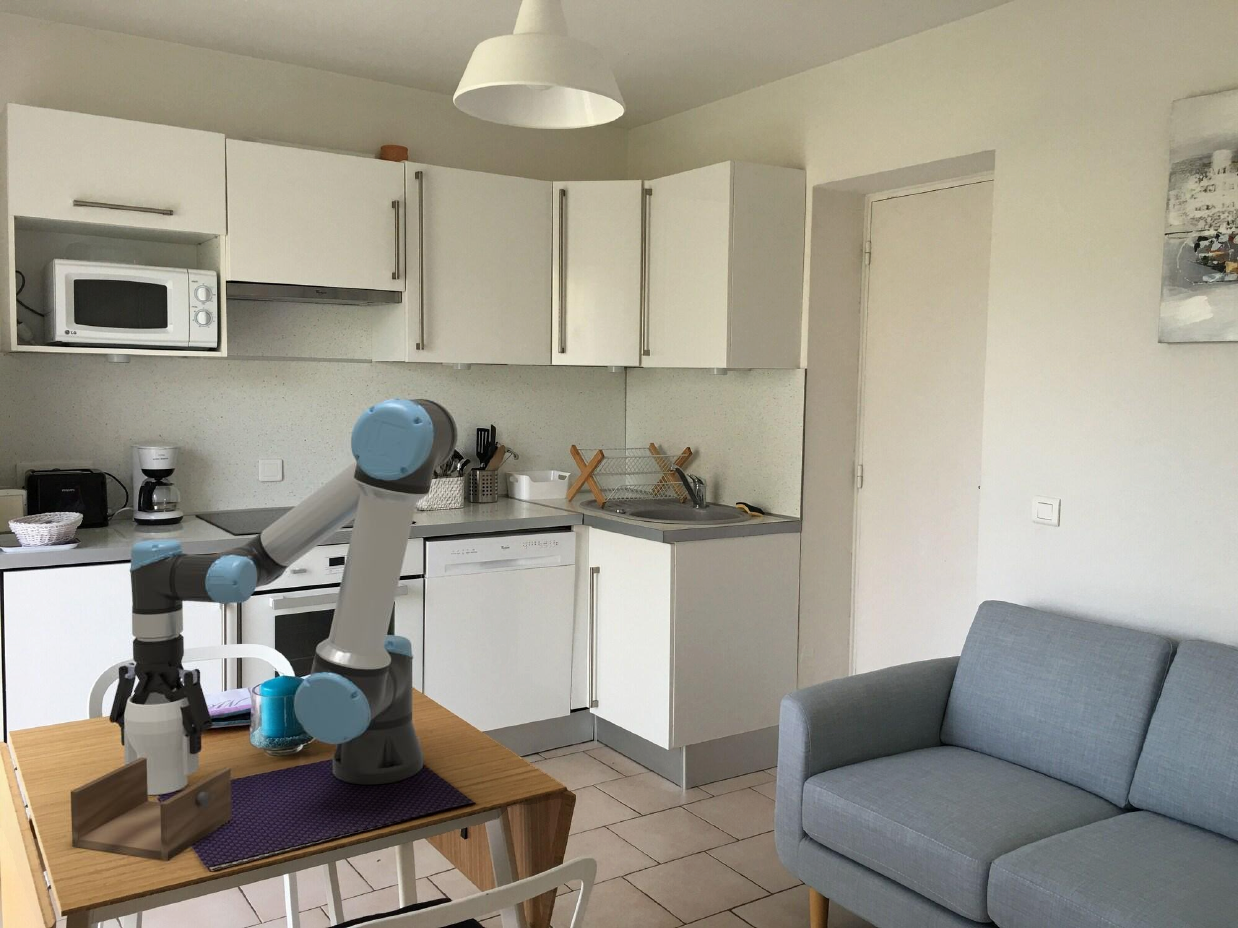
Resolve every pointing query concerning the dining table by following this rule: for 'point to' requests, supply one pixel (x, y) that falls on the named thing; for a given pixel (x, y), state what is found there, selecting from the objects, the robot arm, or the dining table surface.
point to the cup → (158, 740)
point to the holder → (147, 813)
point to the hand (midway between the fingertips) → (161, 768)
